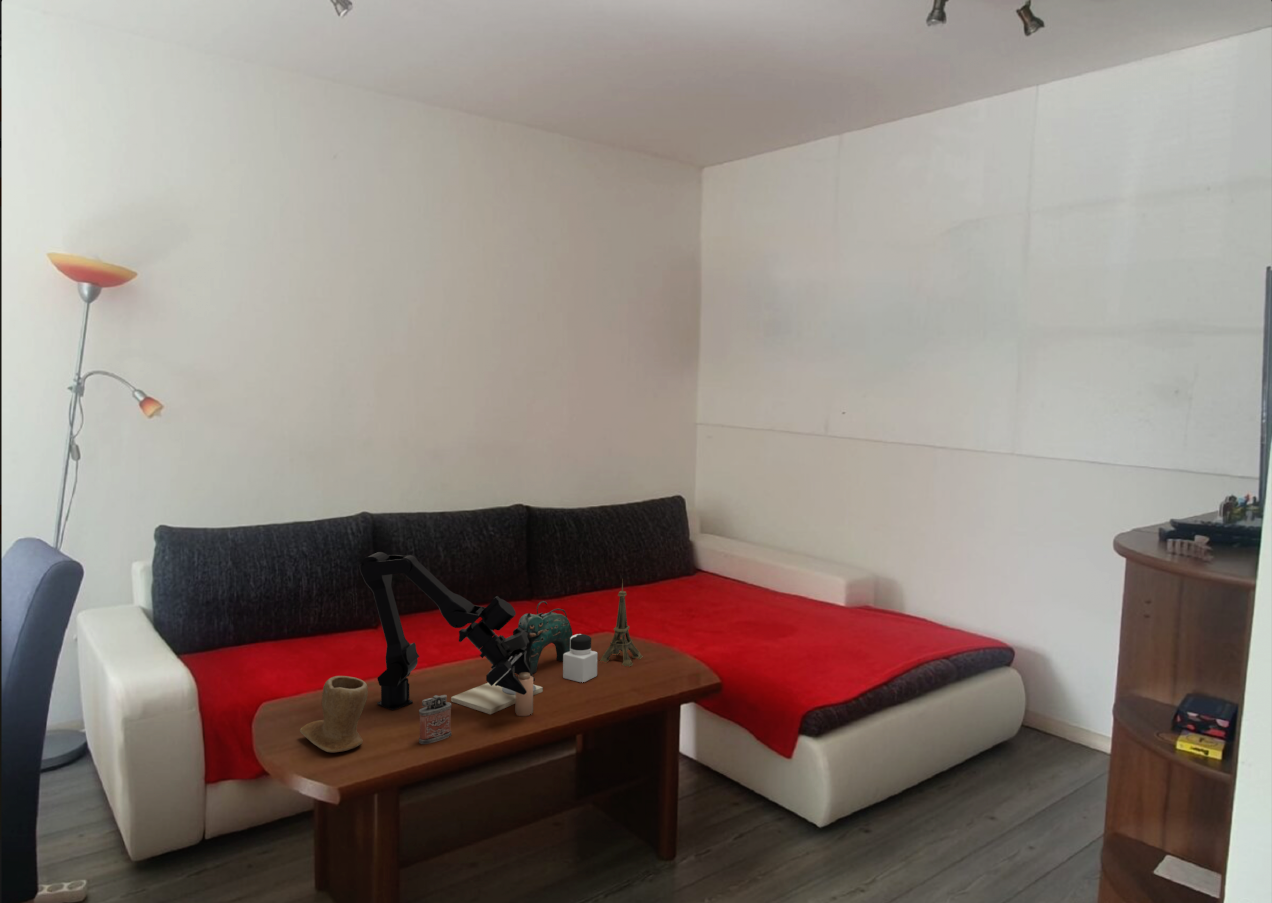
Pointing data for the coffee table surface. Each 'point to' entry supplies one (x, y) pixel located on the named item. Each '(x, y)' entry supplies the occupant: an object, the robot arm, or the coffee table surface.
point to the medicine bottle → (580, 659)
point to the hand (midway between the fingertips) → (529, 687)
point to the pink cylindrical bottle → (525, 701)
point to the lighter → (435, 719)
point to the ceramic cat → (545, 634)
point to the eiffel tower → (620, 632)
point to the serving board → (489, 697)
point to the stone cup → (339, 715)
